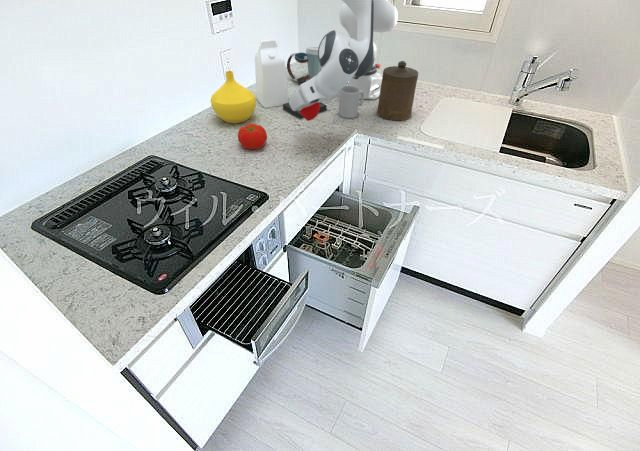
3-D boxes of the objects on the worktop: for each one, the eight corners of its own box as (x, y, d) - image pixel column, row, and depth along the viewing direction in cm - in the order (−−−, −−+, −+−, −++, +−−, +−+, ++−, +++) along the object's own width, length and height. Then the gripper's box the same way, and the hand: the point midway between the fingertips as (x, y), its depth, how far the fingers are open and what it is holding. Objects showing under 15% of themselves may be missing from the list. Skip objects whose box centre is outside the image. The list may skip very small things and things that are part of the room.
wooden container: (401, 105, 159) (410, 55, 144) (416, 118, 148) (427, 65, 134) (372, 108, 155) (378, 57, 141) (385, 122, 145) (394, 68, 130)
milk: (280, 95, 166) (276, 36, 148) (288, 103, 158) (286, 42, 141) (256, 98, 162) (250, 38, 144) (264, 108, 154) (258, 45, 137)
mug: (345, 119, 146) (347, 94, 139) (334, 112, 152) (336, 87, 144) (367, 114, 151) (370, 89, 144) (356, 107, 156) (358, 83, 149)
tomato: (250, 136, 133) (248, 118, 128) (273, 143, 129) (271, 125, 124) (232, 147, 126) (229, 129, 121) (255, 155, 122) (253, 136, 117)
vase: (215, 130, 137) (205, 81, 124) (213, 111, 150) (204, 66, 137) (260, 125, 141) (255, 78, 128) (254, 108, 154) (249, 63, 141)
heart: (322, 124, 127) (323, 97, 120) (311, 128, 124) (311, 101, 117) (304, 113, 133) (303, 88, 127) (292, 117, 131) (291, 91, 124)
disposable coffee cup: (307, 73, 191) (306, 44, 181) (325, 74, 190) (326, 45, 180) (304, 79, 183) (304, 49, 173) (324, 80, 182) (325, 50, 172)
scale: (308, 101, 161) (308, 94, 159) (326, 110, 153) (326, 103, 151) (283, 109, 153) (282, 102, 151) (300, 119, 146) (300, 111, 144)
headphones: (322, 85, 174) (293, 79, 186) (321, 53, 164) (290, 49, 177) (314, 88, 170) (285, 82, 183) (312, 56, 161) (281, 51, 173)
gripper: (342, 72, 118) (323, 92, 130) (296, 85, 108) (280, 105, 120) (350, 89, 119) (331, 107, 131) (304, 103, 109) (288, 121, 121)
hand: (306, 106), depth 125 cm, fingers closed on heart, 5 cm apart
